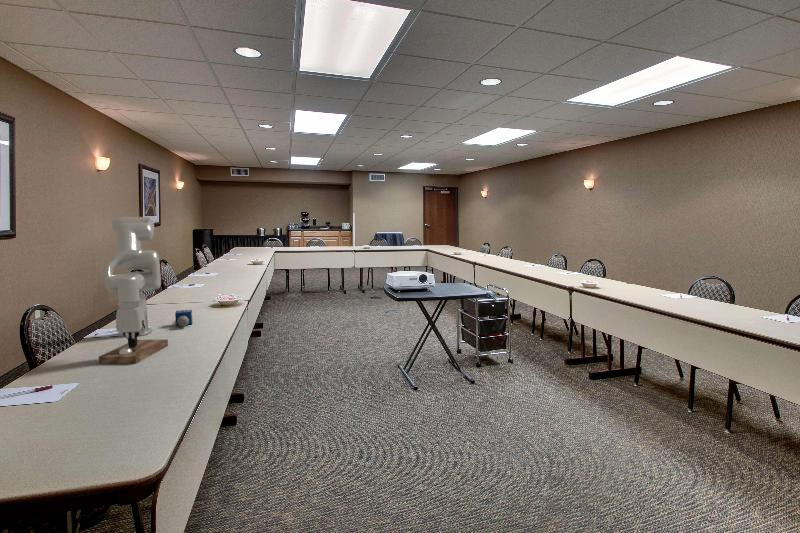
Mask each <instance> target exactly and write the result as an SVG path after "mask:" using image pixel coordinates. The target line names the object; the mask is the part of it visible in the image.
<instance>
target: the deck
mask: <svg viewBox="0 0 800 533" xmlns="http://www.w3.org/2000/svg"><path fill="white" fill-rule="evenodd" d="M168 340H169V339H137V346H136V347H134V348H130V349H132V351H133V353H130V354H119V352H120V350H121V349H123V348H129V345H128V342H127V343H125V344H122V345H121V346H118V347H117V348H115V349H112V350H110V351H108V352H106V353H104V354H102V355H100V356H98V364H99V365H108V364H109V365H112V364H113V365H116V364H117V365H118V364H119V365H121V364H123V365H126V364H127V365H128V364H129V365H130V364H131V365H132V364H133V365H134V364H138V363H139V362H140V363H141V362H142V361H144V360H145V359H147V358H149V357H151V356H153V355H154V354H156V353H158V352H160V351H162V350H163V349H165V348H167V347H169V341H168ZM161 349H162V350H161ZM152 354H153V355H152ZM150 355H151V356H150ZM143 359H144V360H143ZM141 360H142V361H141Z"/></svg>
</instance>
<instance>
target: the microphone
mask: <svg viewBox="0 0 800 533" xmlns="http://www.w3.org/2000/svg"><path fill="white" fill-rule="evenodd" d="M174 314H175V315H174V317H175V327H176V328H179V327H178V326H182V327H189V326H188V325H192V326H193V310H192V309H181V310H175V313H174Z"/></svg>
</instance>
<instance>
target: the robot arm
mask: <svg viewBox="0 0 800 533" xmlns="http://www.w3.org/2000/svg"><path fill="white" fill-rule="evenodd" d="M110 224H111V228H112V230H113V232H114V234H115V235H116V253H115V255H114V256H113V257H112V258H111V259H109V261H108V262H107V264H106V266H105V273H104V280H105V281H104V283H105V284H104V285H105V288H106V290H107V291H109V292H110V293H117V298H118V302H116V306H118V308H117V310H116V315H115V328H116V332H118V334H120V335H123V336H124V337H125V339H127V343H128V345H129V348H134V347H136V346H137V340H138V337H140V336H144V335H145V336H146V335H149V334H151V333H153V329H152V328H149V319H148V318H149V317H148V304H147V298H146V296H145V295H144V294H143V293H142V291H152V290H158V289H160V287H161V285H162V276H161V266H160V265H161V264H160V257H159V254H158V252H157V251H156V250H153V249H152V250H151V249H150V250H149V249H148V250H147V249H145V250H143V249H142V243H141V242H144V241H146V242H147V241H152V240H153V239H154V235H155V223H154V220H153V219H152V218H151V217H149V216H146V217H145V216H122V217H115V218H113V219H111V223H110ZM121 265H122V266H123V268H124V269H126V270H129V271H130V270H132V272H131V271H130V272H126V273H119V274H117V273H116V274H114V271H115V270H116V269H117V268H118V267H119V266H121ZM133 270H135V271H133ZM136 270H149V271H136Z"/></svg>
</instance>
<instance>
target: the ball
mask: <svg viewBox="0 0 800 533" xmlns="http://www.w3.org/2000/svg"><path fill="white" fill-rule="evenodd" d="M130 353H133V351H132V349H130V348H123V349H121V350H120V352H119V354H130Z"/></svg>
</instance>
